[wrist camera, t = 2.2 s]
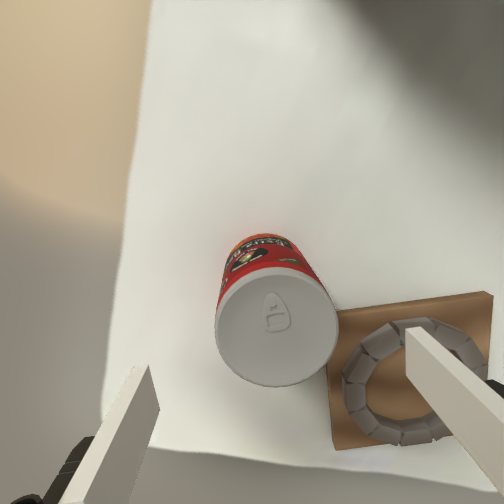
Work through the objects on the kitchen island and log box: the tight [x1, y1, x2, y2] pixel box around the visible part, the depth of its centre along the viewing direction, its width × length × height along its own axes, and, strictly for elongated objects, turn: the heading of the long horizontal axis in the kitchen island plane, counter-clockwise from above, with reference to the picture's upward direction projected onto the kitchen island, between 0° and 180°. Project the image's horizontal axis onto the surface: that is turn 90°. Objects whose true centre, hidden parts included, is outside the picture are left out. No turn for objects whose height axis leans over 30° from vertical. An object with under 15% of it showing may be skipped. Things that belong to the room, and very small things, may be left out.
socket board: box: [326, 291, 494, 451], centre depth 31 cm, size 16×16×3 cm
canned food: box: [215, 234, 339, 387], centre depth 24 cm, size 8×8×11 cm
